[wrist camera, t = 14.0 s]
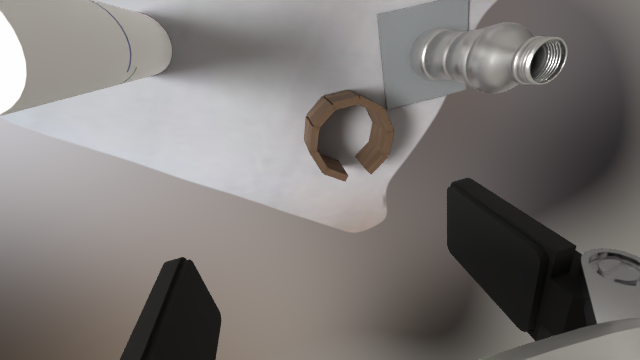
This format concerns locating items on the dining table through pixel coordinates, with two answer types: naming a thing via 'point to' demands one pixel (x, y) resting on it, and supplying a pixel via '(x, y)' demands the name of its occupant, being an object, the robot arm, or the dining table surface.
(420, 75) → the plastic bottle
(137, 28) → the cylindrical container
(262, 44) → the dining table surface
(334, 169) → the ring holder
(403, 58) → the rubber mat
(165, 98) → the dining table surface
